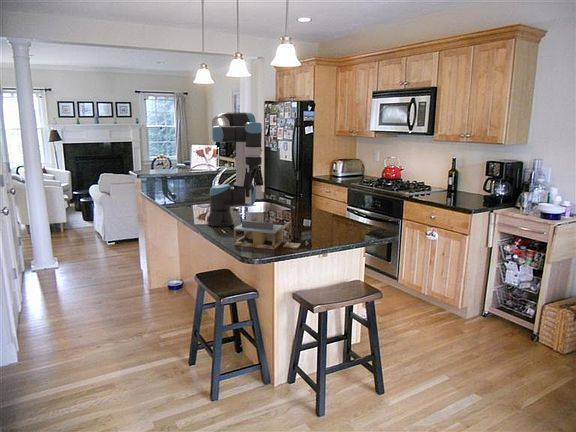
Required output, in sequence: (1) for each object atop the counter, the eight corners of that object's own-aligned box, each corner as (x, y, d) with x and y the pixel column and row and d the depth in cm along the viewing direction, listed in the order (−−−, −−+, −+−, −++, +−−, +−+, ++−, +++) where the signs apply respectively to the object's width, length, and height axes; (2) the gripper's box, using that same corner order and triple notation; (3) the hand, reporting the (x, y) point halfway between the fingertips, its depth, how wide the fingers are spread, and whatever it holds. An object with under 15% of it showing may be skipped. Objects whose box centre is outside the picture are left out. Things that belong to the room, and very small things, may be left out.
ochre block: (252, 244, 217) (252, 230, 215) (256, 241, 221) (256, 228, 219) (261, 245, 215) (261, 231, 214) (264, 242, 220) (264, 229, 218)
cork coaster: (283, 247, 213) (283, 246, 212) (287, 243, 219) (287, 242, 219) (296, 248, 211) (296, 247, 210) (300, 244, 217) (300, 243, 217)
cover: (233, 229, 213) (233, 222, 212) (244, 223, 226) (244, 216, 225) (274, 233, 207) (274, 225, 206) (283, 227, 220) (283, 219, 219)
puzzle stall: (233, 245, 215) (233, 230, 213) (254, 231, 241) (254, 218, 240) (274, 249, 209) (274, 234, 207) (291, 234, 235) (291, 221, 234)
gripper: (251, 158, 189) (251, 206, 193) (269, 154, 212) (269, 197, 217) (235, 157, 191) (235, 205, 195) (255, 154, 214) (255, 196, 219)
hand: (253, 201), depth 206 cm, fingers open, 13 cm apart
